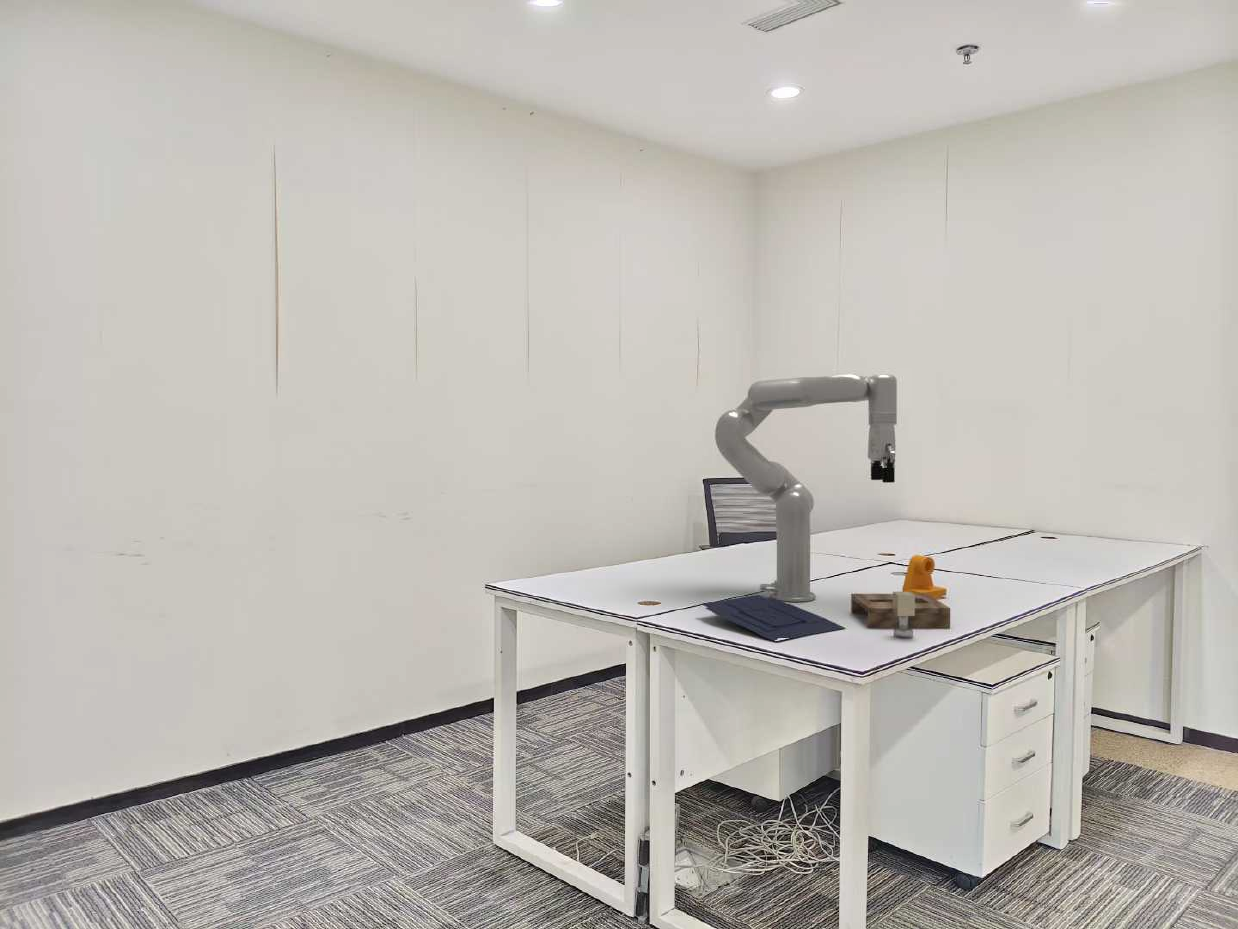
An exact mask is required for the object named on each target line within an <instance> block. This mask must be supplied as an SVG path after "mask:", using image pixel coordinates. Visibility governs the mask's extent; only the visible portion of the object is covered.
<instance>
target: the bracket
mask: <svg viewBox="0 0 1238 929" xmlns="http://www.w3.org/2000/svg"><path fill="white" fill-rule="evenodd" d="M934 571H935V560H934V559H933V557H930V556H926V555H925V556H924V555H920V554H919V555H918V554H915V555H913V556H911V558H910V560H909V562H908V566H907V570H906V574H905V577H904V582H903V585H902V589H901V590H902V591H901V592H911V593H913V594H928V595H929V596H931V597H933V598H934V599H936V600H938V601H939V600H941V599H943V597H944V596H945V597H946V596H947V588H946V587H940V586H935V585H934V583H933V582H934V581H933V579H932V574H933V573H934Z"/></svg>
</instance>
